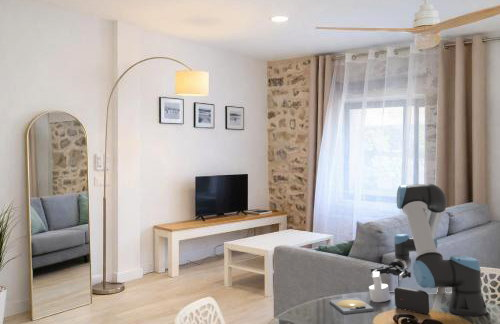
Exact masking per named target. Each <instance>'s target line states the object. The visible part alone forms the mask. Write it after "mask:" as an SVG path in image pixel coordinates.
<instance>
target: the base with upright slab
mask: <svg viewBox="0 0 500 324" xmlns="http://www.w3.org/2000/svg"><path fill="white" fill-rule="evenodd" d="M372 280H373V284H372V285H369V286H368V290H369V291H368V292H369V295H370V301H371V302H373V303H384V302H387V301H389V300H391V294H390V289H389V285H388V284H387V283H383V282H382V277H381V274H380V271H377V272H373V278H372Z"/></svg>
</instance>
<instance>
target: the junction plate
mask: <svg viewBox="0 0 500 324" xmlns="http://www.w3.org/2000/svg"><path fill="white" fill-rule="evenodd" d="M329 303H330V305H332V306H333V307H334V308H336V309H337V310H338V311H340V313H342V314H344V315H348V314H349V315H350V314H358V313H365V312H367V313H368V312H373V311H375V310H374V309H375V307H373V306H371V305H370V304H368V303H367V302H366V301H364V300H362V299H361V298H359V297H357V296H355V297H347V298H338V299H337V298H336V299H329Z"/></svg>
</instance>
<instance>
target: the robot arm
mask: <svg viewBox="0 0 500 324" xmlns="http://www.w3.org/2000/svg"><path fill="white" fill-rule="evenodd" d="M447 204H448V201H447V195H446V193H445V192H444V191H443V189H442V188H441V187H440V186H438V185H436V184H434V183H420V184H419V183H418V184H401V185H399V186H398V187H397V192H396V208H397V209H399V210H402V213H403V214H404V215H405V216H407V217H406V218H407V220H408V224H409V227H410V231H411V236H412V237H409V234H407V233H398V234H397V233H396V234H395V235H394V240H393V241H394V242H393V244H394V260H392V261H391V262H390V263H389V265H388V266H385V265H381V266H377V267H372V268H370V274H371V279H373V272H377V271H380V275H382V274H386V275H389V274H391V275H393V276H398V281H399V282H402V280H403V279H406V278H409V279H410V278H412V273H411V271H410V270H409V268H410V266H411V265H412V271H413V276H414V278H415V281H416V282H417V284H418V286H419V287H421V288H423V289H426V288H427V289H437V288H441V289H442V288H451V294H450V298H449V301H448V305H447V306H448V308H447V309H448V311H449V312H451V313H453V314H456V315H460V316H468V317H477V316H478V317H479V316H483V315H486V314H487V313H488V310H487V304H486V301H485V300H484V297H483V295H482V283H481V282H482V281H481V280H482V278H481V277H482V276H481V272H482V270H481V266H480V261H479V260H478V259H477V258H474V257H471V256H465V255H459V254H457V255H456V254H455V255H450V257H449V259H444V258H443V254H442V253H440V252H438V250H437V249H438V241H437V238H436V235H437V231H438V227H439V224H440V220H441V217H442V214H443V213H444V211H446V208H447ZM410 252H416V255H417V256H416V257H415V259H414V260H415V261H413V263H412V258H411V257H410Z"/></svg>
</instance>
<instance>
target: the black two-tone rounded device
mask: <svg viewBox="0 0 500 324" xmlns="http://www.w3.org/2000/svg"><path fill="white" fill-rule="evenodd" d="M393 291H394V305H395V307H396V308H397V309H399V308H401V309H400V310H403V309H406V310H405V311H408V310H410V311H409V312H412V311H414V312H413V313H417V312H419V313H418V314H421V313H424V314H423V315H429V314H430V300H429V298H430V297H429V293H428V292H427V291H425V290H423V289H418V288H413V287H404V286H403V287H402V286H397V287H395V288H394V290H393Z"/></svg>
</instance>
